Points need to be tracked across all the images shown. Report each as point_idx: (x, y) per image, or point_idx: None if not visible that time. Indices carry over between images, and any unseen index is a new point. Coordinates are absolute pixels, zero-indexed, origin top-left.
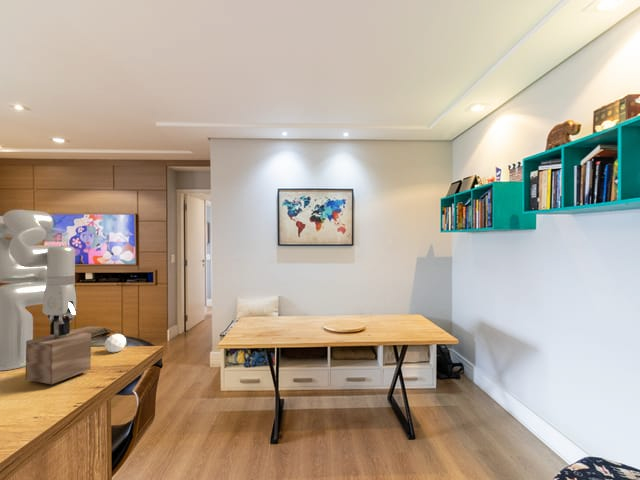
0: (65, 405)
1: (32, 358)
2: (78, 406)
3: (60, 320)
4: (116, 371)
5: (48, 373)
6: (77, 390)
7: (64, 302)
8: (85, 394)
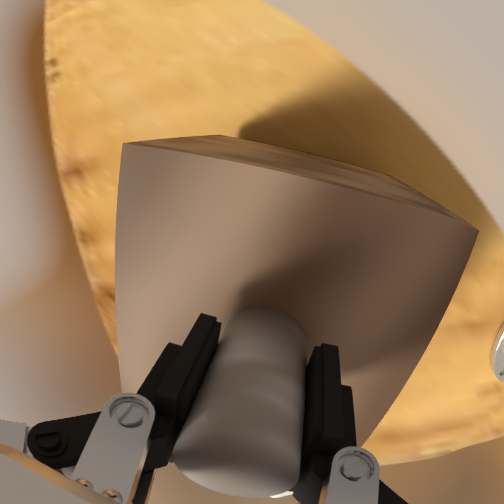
0: (76, 53)
1: (369, 178)
2: (45, 62)
3: (136, 439)
4: None
5: (231, 140)
6: (116, 136)
7: None
8: (73, 119)
